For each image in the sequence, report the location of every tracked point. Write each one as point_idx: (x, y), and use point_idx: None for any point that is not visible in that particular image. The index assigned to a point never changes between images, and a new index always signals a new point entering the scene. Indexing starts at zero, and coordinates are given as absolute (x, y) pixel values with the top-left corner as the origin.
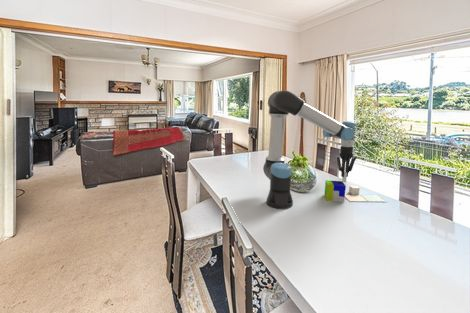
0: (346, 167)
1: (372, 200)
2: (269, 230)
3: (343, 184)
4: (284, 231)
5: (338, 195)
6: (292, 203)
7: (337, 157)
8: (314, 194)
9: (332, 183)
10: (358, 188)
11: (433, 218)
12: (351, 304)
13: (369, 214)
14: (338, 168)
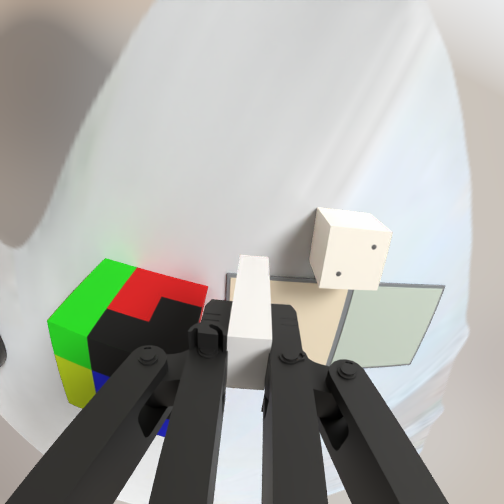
0: (265, 443)
1: (359, 358)
2: (16, 420)
3: (168, 420)
4: (35, 431)
5: None
6: (2, 356)
7: None
8: (54, 246)
9: (93, 392)
10: (367, 288)
11: (410, 439)
12: (122, 500)
13: (241, 442)
14: (118, 374)
